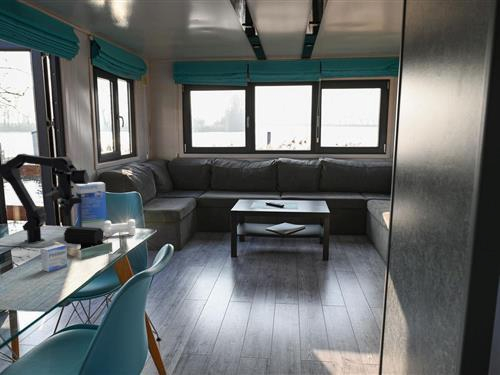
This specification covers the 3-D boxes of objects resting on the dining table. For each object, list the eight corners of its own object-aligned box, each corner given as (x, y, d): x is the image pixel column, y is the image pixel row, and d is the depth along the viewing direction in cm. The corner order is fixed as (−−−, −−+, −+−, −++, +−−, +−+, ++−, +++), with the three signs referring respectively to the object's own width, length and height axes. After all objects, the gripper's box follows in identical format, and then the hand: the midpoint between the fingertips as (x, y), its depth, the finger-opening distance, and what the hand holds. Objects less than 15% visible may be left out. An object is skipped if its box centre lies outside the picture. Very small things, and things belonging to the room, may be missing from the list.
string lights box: (104, 229, 207) (102, 181, 204) (107, 232, 201) (105, 183, 197) (77, 232, 200) (75, 183, 196) (80, 235, 194) (78, 185, 190)
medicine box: (48, 272, 145) (46, 250, 144) (41, 270, 147) (40, 248, 146) (67, 266, 151) (66, 245, 150) (61, 264, 154) (59, 243, 152)
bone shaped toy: (135, 233, 202) (134, 218, 202) (135, 236, 194) (135, 220, 193) (104, 235, 198) (104, 219, 197) (103, 238, 189) (103, 222, 189)
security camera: (101, 254, 167) (100, 231, 165) (63, 251, 170) (62, 229, 168) (110, 249, 173) (109, 227, 172) (73, 246, 177) (72, 225, 175)
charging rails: (53, 248, 173) (52, 239, 173) (82, 241, 185) (82, 233, 184) (82, 259, 159) (82, 250, 159) (112, 251, 171) (112, 242, 170)
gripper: (37, 183, 180) (39, 216, 182) (57, 187, 169) (60, 222, 171) (61, 181, 189) (62, 212, 191) (81, 185, 178) (83, 218, 180)
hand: (66, 216), depth 183 cm, fingers closed
